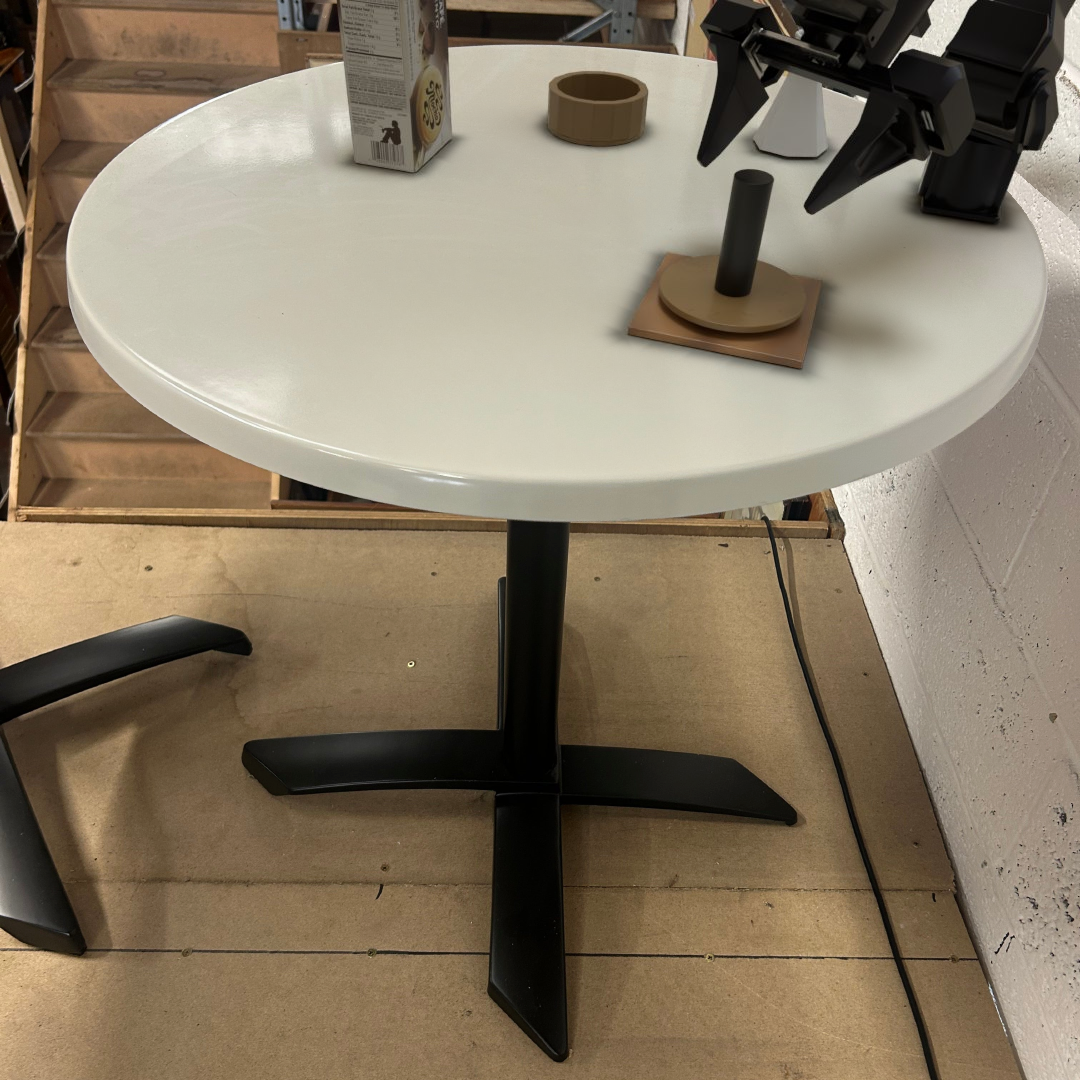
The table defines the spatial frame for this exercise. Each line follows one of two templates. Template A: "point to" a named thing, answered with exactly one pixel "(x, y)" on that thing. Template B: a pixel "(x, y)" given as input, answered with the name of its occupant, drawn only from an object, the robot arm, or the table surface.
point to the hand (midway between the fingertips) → (751, 186)
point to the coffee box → (396, 80)
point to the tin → (597, 108)
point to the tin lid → (736, 271)
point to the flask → (795, 119)
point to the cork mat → (763, 346)
